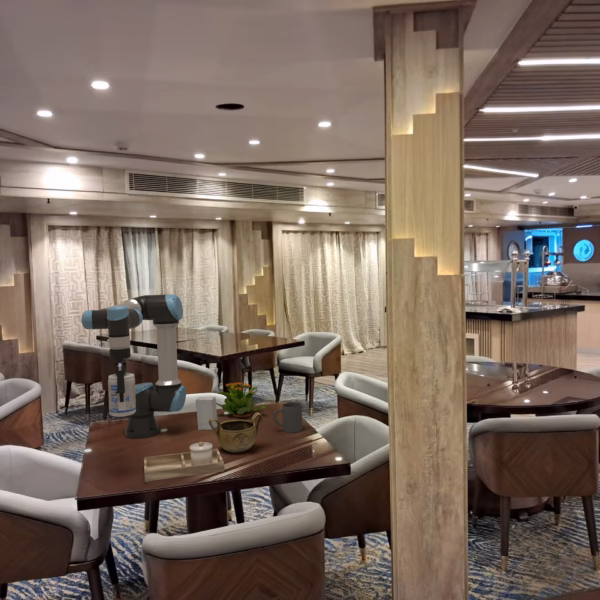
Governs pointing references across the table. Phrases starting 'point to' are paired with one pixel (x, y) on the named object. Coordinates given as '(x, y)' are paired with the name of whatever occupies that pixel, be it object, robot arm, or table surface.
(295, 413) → the mug
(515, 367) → the table surface
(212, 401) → the skincare box
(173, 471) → the caddy
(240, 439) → the ceramic bowl
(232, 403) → the potted flower
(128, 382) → the supplement tub
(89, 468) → the table surface
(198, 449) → the sugar pot
